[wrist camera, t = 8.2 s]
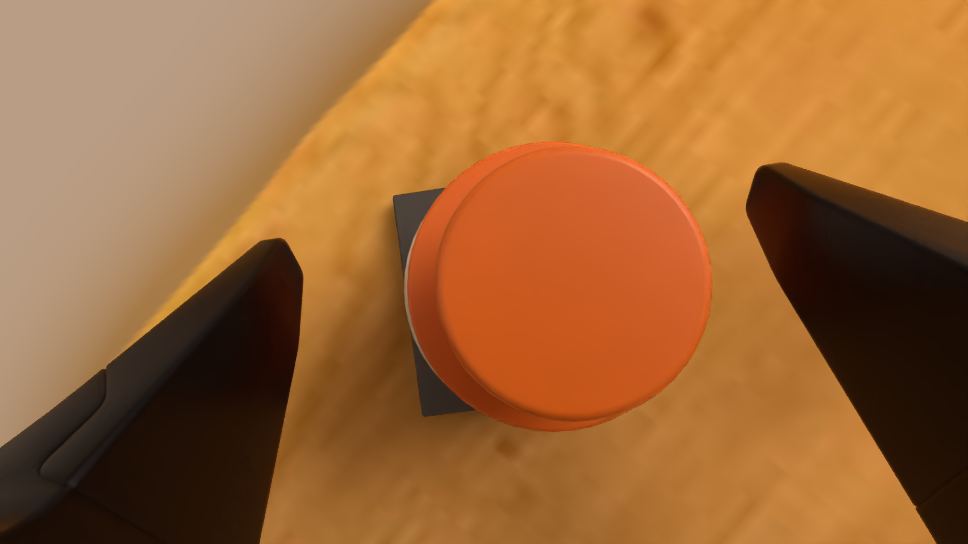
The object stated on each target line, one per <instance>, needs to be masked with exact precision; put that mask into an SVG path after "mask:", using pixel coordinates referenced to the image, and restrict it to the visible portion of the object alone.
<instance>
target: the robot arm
mask: <svg viewBox="0 0 968 544" xmlns="http://www.w3.org/2000/svg"><path fill="white" fill-rule="evenodd" d="M746 212H747V216H748V218H749V220H750V223H751V225H752V227H753V229H754V232H755V234H756V236H757V238H758V240H759V243H760V245H761V247H762V249H763V252H764V254H765V256H766V258H767V260H768V263H769V265H770V267H771V269H772V271H773V273H774V275H775V277H776V279H777V281H778V283H779V284H780V286H781V288H782V290H783V291H784V293H785V295H786V296H787V298H788V299H789V301H790V303H791V304H792V306H793V308H794V309H795V311H796V313H797V314H798V316H799V318H800V319H801V321H802V322H803V324H804V326H805V327H806V329H807V331H808V332H809V334H810V336H811V337H812V339H813V341H814V342H815V344H816V345H817V347H818V349H819V350H820V352H821V354H822V355H823V357H824V359H825V360H826V362H827V364H828V365H829V367H830V368H831V370H832V372H833V373H834V375H835V377H836V378H837V380H838V382H839V383H840V385H841V387H842V388H843V390H844V391H845V393H846V395H847V396H848V398H849V400H850V401H851V403H852V405H853V406H854V408H855V410H856V411H857V413H858V414H859V416H860V418H861V419H862V421H863V423H864V424H865V426H866V428H867V429H868V431H869V432H870V434H871V436H872V437H873V439H874V441H875V442H876V444H877V446H878V447H879V449H880V451H881V452H882V454H883V455H884V457H885V459H886V460H887V462H888V464H889V465H890V467H891V469H892V470H893V472H894V474H895V475H896V477H897V478H898V480H899V482H900V483H901V485H902V487H903V488H904V490H905V492H906V493H907V495H908V497H909V498H910V500H911V501H912V503H913V504H914V505H915V506H917V507H916V510H917V512H918V514H919V515H920V517H921V519H922V520H923V522H924V523H925V525H926V527H927V528H928V530H929V532H930V533H931V535H932V537H933V538H934V540H935V542H936V543H937V544H968V222H966V221H963V220H959V219H956V218H953V217H950V216H947V215H944V214H941V213H938V212H935V211H932V210H929V209H926V208H923V207H920V206H917V205H913V204H910V203H907V202H904V201H901V200H898V199H895V198H892V197H889V196H886V195H883V194H880V193H877V192H874V191H871V190H867V189H864V188H861V187H858V186H855V185H852V184H849V183H846V182H843V181H840V180H837V179H834V178H831V177H828V176H825V175H821V174H818V173H815V172H812V171H809V170H806V169H803V168H800V167H797V166H794V165H791V164H788V163H774V164H768V165H762V166H761V167H759V168H758V169H757V171H756V173H755V175H754V179H753V182H752V185H751V188H750V192H749V195H748V198H747V202H746ZM302 294H303V273H302V270H301V267H300V266H299V264H298V262H297V260H296V258H295V256H294V254H293V252H292V251H291V249H290V247H289V245H288V243H287V242H286V241H285V240H284V239H282V238H275V239H268V240H262V241H260V242H259V243H257V244H256V245H255V246H254V247H252V248H251V249H250V250H249V251H247V252H246V253H245V254H244V255H243V256H241V257H240V258H239V259H238V260H236V261H235V262H234V263H233V264H231V265H230V266H229V267H228V268H226V269H225V270H224V271H223V272H222V273H220V274H219V275H218V276H217V277H215V278H214V279H213V280H212V281H210V282H209V283H208V284H207V285H206V286H204V287H203V288H202V289H201V290H199V291H198V292H197V293H196V294H194V295H193V296H192V297H191V298H190V299H188V300H187V301H186V302H185V303H183V304H182V305H181V306H180V307H178V308H177V309H176V310H175V311H174V312H172V313H171V314H170V315H169V316H167V317H166V318H165V319H164V320H162V321H161V322H160V323H159V324H157V325H156V326H155V327H154V328H153V329H151V330H150V331H149V332H148V333H146V334H145V335H144V336H143V337H141V338H140V339H139V340H138V341H137V342H135V343H134V344H133V345H132V346H130V347H129V348H128V349H127V350H125V351H124V352H123V353H122V354H121V355H119V356H118V357H117V358H116V359H114V360H113V361H112V362H111V363H109V364H108V365H107V367H106V369H102V370H101V371H99V372H98V373H97V374H96V375H94V376H93V377H92V378H91V379H90V380H88V381H87V382H86V383H85V384H83V385H82V386H81V387H80V388H78V389H77V390H76V391H75V392H73V393H72V394H71V395H70V396H68V397H67V398H66V399H64V400H63V401H62V402H61V403H59V404H58V405H57V406H56V407H54V408H53V409H52V410H50V411H49V412H48V413H46V414H45V415H44V416H42V417H41V418H40V419H38V420H37V421H36V422H34V423H33V424H32V425H30V426H29V427H28V428H26V429H25V430H24V431H22V432H21V433H20V434H18V435H17V436H16V437H14V438H13V439H12V440H10V441H9V442H7V443H6V444H5V445H3V446H2V447H1V448H0V544H259V543H260V538H261V533H262V528H263V523H264V518H265V513H266V508H267V503H268V498H269V493H270V488H271V483H272V478H273V473H274V468H275V463H276V458H277V453H278V448H279V443H280V438H281V433H282V428H283V423H284V418H285V413H286V408H287V403H288V398H289V393H290V388H291V382H292V377H293V372H294V367H295V362H296V357H297V352H298V345H299V336H300V322H301V308H302Z"/></svg>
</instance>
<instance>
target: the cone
mask: <svg viewBox="0 0 968 544" xmlns="http://www.w3.org/2000/svg"><path fill="white" fill-rule="evenodd" d="M393 204H394V211H395V218H396V226H397V233H398V240H399V248H400V255H401V262H402V270H403V277H404V297H405V308H406V313H407V318H408V323H409V326H410V329H411V336H412V343H413V350H414V358H415V365H416V372H417V380H418V387H419V394H420V402H421V409H422V415H423V416H424V417H427V416H435V415H442V414H449V413H456V412H464V411H471V410H477V411H479V412H481V413H483V414H485V415H487V416H489V417H491V418H493V419H495V420H497V421H500V422H502V423H505V424H508V425H511V426H514V427H518V428H523V429H528V430H533V431H547V432H560V431H573V430H578V429H583V428H588V427H593V426H595V425H598V424H601V423H604V422H607V421H610V420H612V419H614V418H616V417H618V416H620V415H622V414H624V413H626V412H628V411H629V410H631V409H633V408H635V407H637V406H639V405H641V404H643V403H645V402H646V401H648V400H649V399H651V398H652V397H654V396H655V395H657V394H658V393H660V392H661V391H662V390H663V389H664V388H665V387H666V386H667V385H668V384H670V383H671V382H672V381H673V380H674V379H675V378H676V376H677V375H678V374H679V373H680V372H681V371H682V369H683V368H684V367H685V366H686V364H687V363H688V361H689V359H690V358H691V356H692V355H693V353H694V352H695V350H696V348H697V346H698V343H699V341H700V339H701V337H702V335H703V332H704V329H705V326H706V323H707V319H708V316H709V310H710V304H711V298H712V274H711V264H710V259H709V255H708V250H707V246H706V243H705V240H704V238H703V235H702V232H701V230H700V227H699V226H698V224H697V222H696V220H695V218H694V216H693V214H692V213H691V211H690V210H689V208H688V207H687V206H686V204H685V203H684V201H683V200H682V199H681V197H680V196H679V195H678V194H677V193H676V192H675V191H674V190H673V189H672V188H671V187H670V186H669V184H668V183H666V182H665V181H664V180H663V179H661V178H660V177H659V176H658V175H657V174H655V173H654V172H653V171H651V170H649V169H648V168H646V167H645V166H643V165H641V164H640V163H638V162H636V161H634V160H631V159H629V158H627V157H625V156H623V155H620V154H617V153H613V152H610V151H607V150H603V149H597V148H591V147H588V146H584V145H578V144H572V143H565V142H541V143H529V144H525V145H520V146H516V147H511V148H509V149H506V150H503V151H500V152H497V153H495V154H492V155H490V156H489V157H487V158H485V159H483V160H481V161H479V162H477V163H475V164H474V165H473V166H471V167H470V168H468V169H467V170H465V171H464V172H462V173H461V174H460V175H459V176H458V177H457V178H456V179H454V180H453V181H452V182H451V183H450V184H449V185H448V186H447V187H446V188H441V189H434V190H428V191H421V192H415V193H408V194H401V195H395V196H393Z"/></svg>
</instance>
